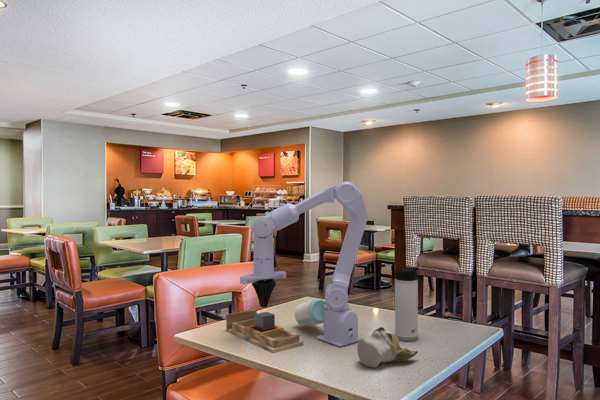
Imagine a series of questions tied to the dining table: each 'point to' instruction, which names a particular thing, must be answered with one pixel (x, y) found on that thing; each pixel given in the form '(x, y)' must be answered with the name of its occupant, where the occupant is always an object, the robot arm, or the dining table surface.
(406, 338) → the travel mug
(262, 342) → the tray
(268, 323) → the grey block
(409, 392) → the dining table surface
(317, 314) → the can
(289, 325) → the dining table surface
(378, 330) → the ceramic sculpture
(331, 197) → the robot arm
